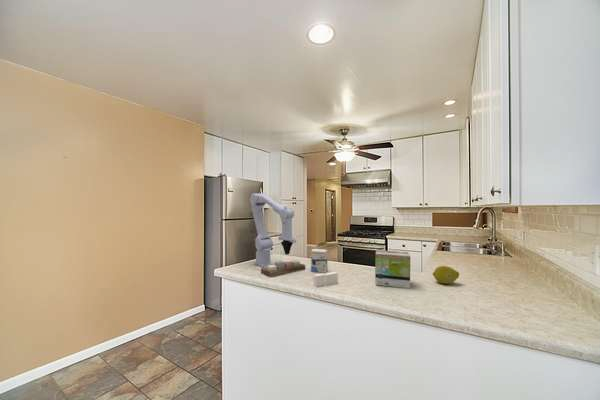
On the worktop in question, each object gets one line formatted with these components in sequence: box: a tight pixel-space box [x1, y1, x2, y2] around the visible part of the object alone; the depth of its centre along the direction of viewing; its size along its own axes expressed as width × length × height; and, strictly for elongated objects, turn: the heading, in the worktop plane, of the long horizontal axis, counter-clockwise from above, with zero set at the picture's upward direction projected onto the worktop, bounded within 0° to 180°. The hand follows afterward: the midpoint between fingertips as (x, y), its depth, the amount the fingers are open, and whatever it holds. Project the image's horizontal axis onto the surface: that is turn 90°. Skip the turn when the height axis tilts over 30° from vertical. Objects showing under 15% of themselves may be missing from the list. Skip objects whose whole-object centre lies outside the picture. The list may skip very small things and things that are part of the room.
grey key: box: [274, 260, 286, 269], centre depth 138 cm, size 4×4×3 cm
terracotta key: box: [284, 261, 292, 268], centre depth 141 cm, size 4×4×3 cm
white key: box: [266, 264, 277, 271], centre depth 135 cm, size 4×4×3 cm
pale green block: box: [289, 259, 301, 266], centre depth 144 cm, size 4×4×3 cm
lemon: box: [432, 265, 460, 285], centre depth 117 cm, size 11×8×8 cm
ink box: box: [310, 248, 328, 274], centre depth 139 cm, size 8×5×12 cm, turn 73°
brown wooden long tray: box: [260, 263, 306, 278], centre depth 140 cm, size 10×23×2 cm, turn 129°
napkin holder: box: [313, 271, 339, 288], centre depth 118 cm, size 15×11×6 cm
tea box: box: [374, 249, 411, 289], centre depth 117 cm, size 15×10×15 cm, turn 73°
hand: (287, 254), depth 141 cm, fingers closed
